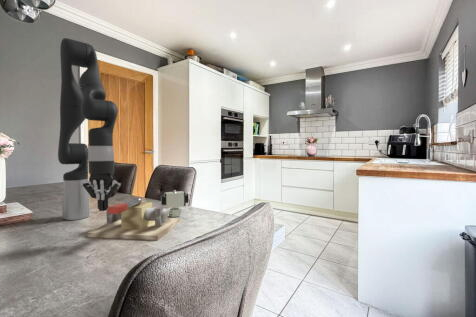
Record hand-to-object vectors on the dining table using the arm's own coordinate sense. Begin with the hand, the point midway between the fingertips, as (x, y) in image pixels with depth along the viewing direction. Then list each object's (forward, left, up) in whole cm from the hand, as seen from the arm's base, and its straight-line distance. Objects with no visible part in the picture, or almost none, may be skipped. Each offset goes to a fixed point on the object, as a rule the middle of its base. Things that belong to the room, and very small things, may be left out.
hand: (103, 210), depth 80 cm
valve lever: (+6, +4, 0) cm, 7 cm away
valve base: (+6, +11, -10) cm, 16 cm away
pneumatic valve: (+13, +29, -10) cm, 34 cm away
